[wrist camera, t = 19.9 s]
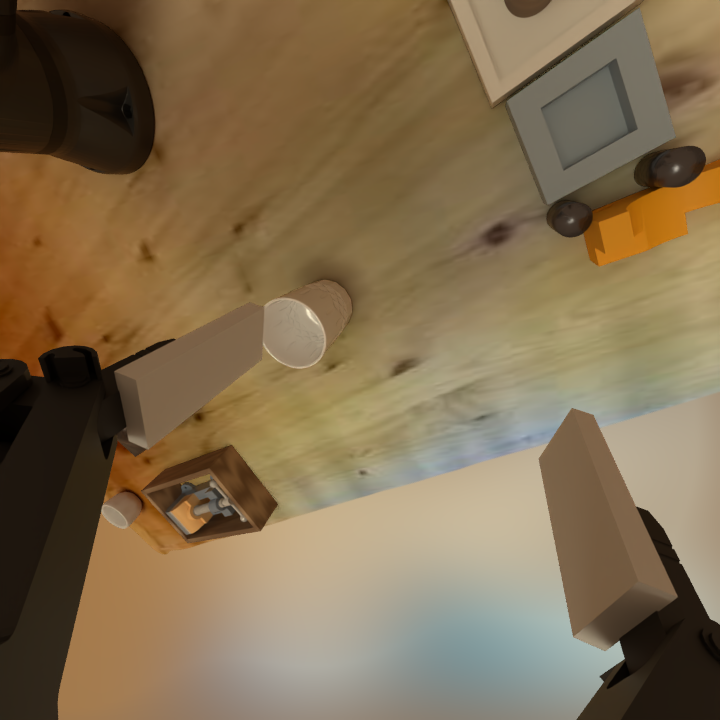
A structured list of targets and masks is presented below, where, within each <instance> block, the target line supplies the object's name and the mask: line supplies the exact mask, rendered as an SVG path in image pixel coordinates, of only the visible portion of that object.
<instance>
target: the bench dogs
mask: <svg viewBox="0 0 720 720" xmlns="http://www.w3.org/2000/svg"><path fill="white" fill-rule="evenodd" d="M705 163H706V157H705V154H704V152H703V151H702V150H701V149H700V148H698V147H695V146H686V147H680V148H674V149H669V150H663V151H657V152H653V153H650V154H648V155H647V156H645V157H644V158H643V159H641V160H640V162H639V163H638V164H637V166H636V168H635V171H634V179H635V181H636V182H637V183H638V184H639V185H641V186H644V187H669V188H677V187H682V186H685V185H687V184H689V183H691V182H692V181H694V180H695V179H696V178H697V177H698V176H699V175H700V174H701V172H702V171H703V169H704V166H705ZM592 219H593V213H592V211H591V209H590V208H589V207H588V206H587V205H585V204H583V203H578V202H573V201H569V200H563V201H559V202H557V203H555V204H554V205H553V206H552V207H551V208H550V209H549V211H548V213H547V223H548V225H549V226H550V227H551V228H552V229H554V230H555V231H556V232H558V233H559V234H561V235H562V236H565V237H576V236H579V235H581V234H583V233H584V232H585V231H586V230H587V229H588V228H589V227H590V225H591V223H592Z"/></svg>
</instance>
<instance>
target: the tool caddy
mask: <svg viewBox="0 0 720 720" xmlns="http://www.w3.org/2000/svg"><path fill="white" fill-rule="evenodd" d="M207 474H210V475H211V476H212V477H213V479H214V480H215V481H216V482H217V484H218V485H219V486H220V487H221V488H222V490H223V491H224V492H225V493H226V494H227V496H228V497H229V498H230V499H231V501H232V502H233V503H234V504H235V505H236V507H237V508H238V509H239V510H240V512H241V513H242V514H243V515H244V516H245V518H246V519H247V521H246V522H242V521H241V520H240V515H239V514H238V512H237V511H235V512H234V513H233V515H230V516H226V517H225V516H224V515H223V514H222V513H219V514H215V515H213V516H212V517H211V518H210V520H209V521H208V522H207V523H205V524H204V525H203V526H202V527H201V528H200V529H198V530H197V531H196V532H194V533H192V534H188V535H186V534H185V533H184V532H183V531H182V530H181V529H180V528H179V527H178V526H177V524H176V523H175V522H174V521H173V520H172V519H171V518H170V517H169V516H168V515H167V514H166V513H165V511H166V510H167V508H168V507H169V506H170V505H171V504H172V503H173V502H174V501H175V500H176V499H177V498H178V497H179V496H180V495H181V494H182V489H181V485H180V484H179V483H182V482H185V481H188V480H192V479H195V478H198V477H201V476H204V475H207ZM141 492H142V493H143V494H144V495H145V496H146V497H147V499H148V500H149V501H150V502H151V503H152V504H153V505H154V506H155V507H156V508H157V510H158V511H159V512H160V513H161V514H162V515H163V516H164V517H165V518H166V520H167V521H168V522H169V523H170V524H171V525H172V526H173V527H174V528H175V530H176V531H177V532H178V533H179V534H180V535H181V536H182V537H183V538H184V539H185V541H186V542H187V543H192V542H198V541H204V540H210V539H216V538H222V537H228V536H234V535H240V534H245V533H252V532H258V531H261V530H262V528H263V527H264V525H265V524H266V522H267V520H268V519H269V517H270V516H271V514H272V513H273V511H274V509H275V508H276V506H277V505H278V504H277V503H276V501H275V500H274V499H273V498H272V496H271V495H270V494H269V492H268V491H267V490H266V489H265V487H264V486H263V485H262V483H261V482H260V481H259V480H258V478H257V477H256V476H255V474H254V473H253V472H252V471H251V469H250V468H249V467H248V465H247V464H246V463H245V462H244V460H243V459H242V458H241V456H240V455H239V454H238V453H237V451H236V450H235V449H234V447H233V446H232V445H230V446H228V447H225V448H222V449H220V450H217V451H214V452H211V453H209V454H206V455H203V456H201V457H198V458H195V459H192V460H190V461H187V462H184V463H182V464H179V465H176V466H174V467H171V468H168V469H165V470H164V471H163V472H162V473H160V474H159V475H158V476H157V477H156V478H155V479H154V480H153V481H151V482H150V483H149V484H148V485H147V486H146V487H145V488H144V489H143V490H141Z"/></svg>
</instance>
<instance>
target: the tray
mask: <svg viewBox="0 0 720 720" xmlns="http://www.w3.org/2000/svg"><path fill="white" fill-rule="evenodd" d="M642 1H643V0H552V1H551V2H550V3H549V4H548V5H547V7H546V8H544V9H543V10H542V11H541V12H539V13H538V14H536V15H534V16H531V17H528V18H520V17H516V16H514V15H513V14H511V13H510V11H509V10H508V9H507V7H506V5H505V2H504V0H448V3H449V5H450V8H451V10H452V13H453V15H454V17H455V20H456V22H457V25H458V27H459V30H460V32H461V35H462V37H463V40H464V42H465V45H466V47H467V49H468V52H469V54H470V57H471V59H472V62H473V64H474V67H475V69H476V72H477V74H478V76H479V79H480V81H481V84H482V86H483V89H484V91H485V94H486V96H487V99H488V101H489V104H490V106H491V108H493V107H495V106H496V105H498V104H499V103H501V102H502V101H503V100H505V99H506V98H508V97H509V96H510V95H512V94H513V93H515V92H516V91H518V90H519V89H520V88H522V87H523V86H525V85H526V84H527V83H529V82H530V81H532V80H533V79H534V78H536V77H537V76H539V75H540V74H542V73H543V72H544V71H546V70H547V69H549V68H550V67H551V66H553V65H554V64H556V63H557V62H559V61H560V60H561V59H563V58H564V57H566V56H567V55H568V54H570V53H571V52H573V51H574V50H576V49H577V48H578V47H580V46H581V45H583V44H584V43H585V42H587V41H588V40H590V39H591V38H592V37H594V36H595V35H597V34H598V33H600V32H601V31H602V30H604V29H605V28H607V27H608V26H609V25H611V24H612V23H614V22H615V21H617V20H618V19H619V18H621V17H622V16H624V15H625V14H626V13H628V12H629V11H631V10H632V9H634V8H635V7H636V6H638V5H639V4H641V3H642Z"/></svg>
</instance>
